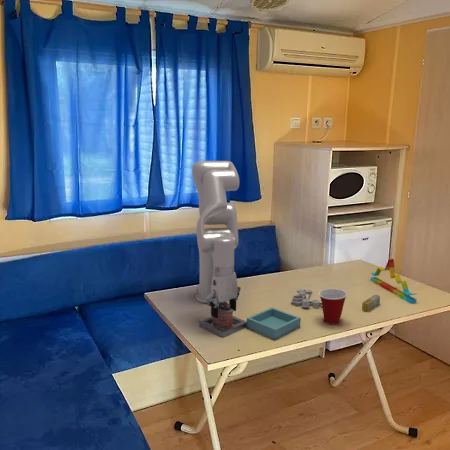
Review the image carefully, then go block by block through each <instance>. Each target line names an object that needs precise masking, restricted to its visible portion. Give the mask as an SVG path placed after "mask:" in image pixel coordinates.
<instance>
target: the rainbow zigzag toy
mask: <svg viewBox="0 0 450 450" xmlns="http://www.w3.org/2000/svg"><path fill="white" fill-rule="evenodd" d="M382 271H384V272H385V271H389V276H390V277H389V278H390V279H395V282H396V284H401V288H402V290H400V289H398V288H397V287H395V286H393V285H391V284H390V283H387V282H385V280H383V279H381V278H379V277H377V276H380V274H381V272H382ZM370 274H371V275H373V276H372V277H370V282H372V283H373V284H376V285H377V286H379V287H381V288H382V289H384V290H386V291H387V292H389V293H391V294H393V295H394V296H397V297H398V298H399V299H402V300H403V301H405V302H406V303H408V304H410V305H412V304H417V298H415V297H413V296H414V295H417V293H412V292H410V290H409V286H408V283H407V281H406V280H403V281H402V278H401V275H400V274H396V269H395V260H394V258H389V259H388V260H387V263H386V265H385V267H383V266H379V267H377V269H376V271H374V272H371V273H370Z"/></svg>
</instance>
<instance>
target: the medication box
mask: <svg viewBox="0 0 450 450" xmlns="http://www.w3.org/2000/svg"><path fill="white" fill-rule="evenodd" d="M380 298H381V296H380V295H377V294H373V295H372V296H371V297H369V298H367V299H365V300H364V301H363V302H362V303H361V311H362V312H365V313H369V312H371V311H372V310H374V309H375V308H376V307H378V306H379V305H381V304H380V303H381V299H380Z"/></svg>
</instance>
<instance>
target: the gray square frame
mask: <svg viewBox="0 0 450 450" xmlns="http://www.w3.org/2000/svg"><path fill="white" fill-rule="evenodd" d="M233 324H234V325H233ZM198 326H199V327H200V328H202V329H204V330H206V331H208V332H211V333H213V334H214V335H217V336H219V337H221V338H225V337H227V336H230V335H232V334H234V333H237V332H239V331H241V330H244V329H247V320H244V319H241V318H239V317H238V316H237V317H236V316H234V315H233V318H232V326H231V327H229V328H227V329H222V328H219V327H216V326H214V317H212V316H210V317H208V318H205V319H201V320H200V321H199V322H198Z"/></svg>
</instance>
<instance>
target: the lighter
mask: <svg viewBox="0 0 450 450" xmlns="http://www.w3.org/2000/svg"><path fill="white" fill-rule="evenodd" d="M217 308H218V318H215V317H214V323H213V325H214V326H216V327H218V328H220V329H222V330H224V329H227V328H229V327H231V326H233V323H232V318H233V316H234V315H233V313H234V311H233V309H231V308H230V304H229V303H228V301H225V302H221V303H220V302H219V304H218V306H217Z"/></svg>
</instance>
